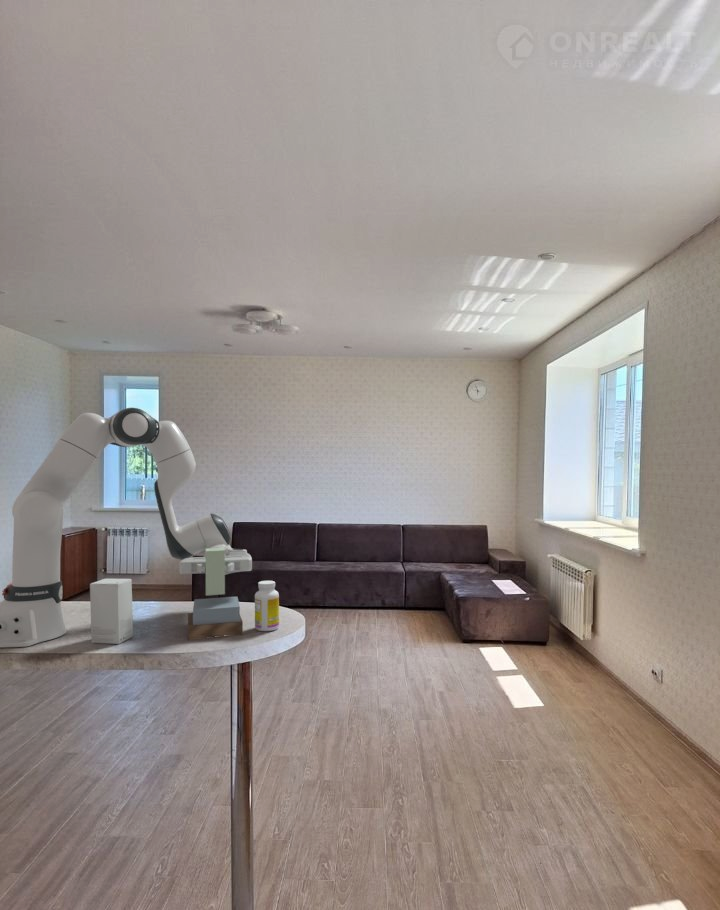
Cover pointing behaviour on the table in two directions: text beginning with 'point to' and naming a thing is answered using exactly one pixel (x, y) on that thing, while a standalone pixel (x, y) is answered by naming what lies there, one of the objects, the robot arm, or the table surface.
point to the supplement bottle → (266, 607)
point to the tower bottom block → (213, 629)
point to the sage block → (215, 571)
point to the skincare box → (111, 611)
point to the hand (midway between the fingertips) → (214, 569)
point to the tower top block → (216, 610)
